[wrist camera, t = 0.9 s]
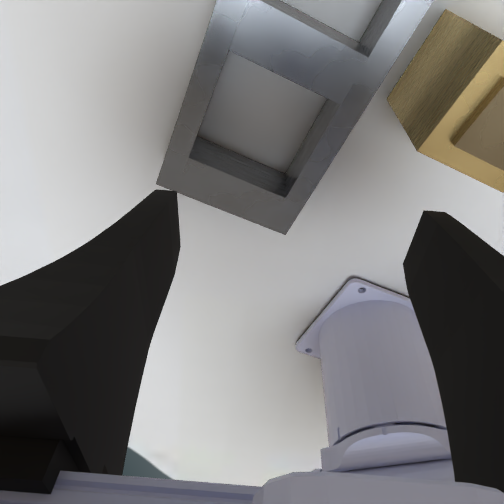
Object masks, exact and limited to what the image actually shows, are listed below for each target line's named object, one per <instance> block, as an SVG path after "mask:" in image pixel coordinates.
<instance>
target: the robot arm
mask: <svg viewBox="0 0 504 504" xmlns="http://www.w3.org/2000/svg"><path fill="white" fill-rule="evenodd" d="M179 251H180V232H179V217H178V203H177V191H168V190H155V191H154V192H152V193H151V194H150V195H149V196H147V197H146V198H145V199H144V200H143V201H141V202H140V203H139V204H138V205H137V206H135V207H134V208H133V209H132V210H131V211H129V212H128V213H127V214H126V215H124V216H123V217H122V218H121V219H119V220H118V221H117V222H116V223H114V224H113V225H111V226H110V227H109V228H107V229H106V230H104V231H103V232H102V233H100V234H99V235H97V236H96V237H95V238H93V239H92V240H90V241H89V242H87V243H86V244H84V245H83V246H81V247H79V248H78V249H76V250H74V251H73V252H71V253H69V254H67V255H66V256H64V257H62V258H60V259H58V260H56V261H55V262H53V263H50V264H48V265H46V266H44V267H42V268H40V269H38V270H36V271H34V272H32V273H30V274H27V275H25V276H23V277H21V278H19V279H16V280H14V281H11V282H9V283H6V284H4V285H1V286H0V504H504V256H503V255H502V254H500V253H499V252H498V251H496V250H495V249H494V248H492V247H491V246H490V245H488V244H487V243H486V242H485V241H483V240H482V239H481V238H479V237H478V236H477V235H476V234H474V233H473V232H472V231H470V230H469V229H468V228H467V227H465V226H464V225H463V224H461V223H460V222H459V221H457V220H456V219H455V218H453V217H452V216H450V215H449V214H447V213H445V212H436V211H423V214H422V216H421V219H420V222H419V224H418V227H417V229H416V232H415V234H414V237H413V239H412V242H411V245H410V247H409V250H408V252H407V255H406V257H405V260H404V262H403V267H404V273H405V279H406V284H407V289H408V294H409V297H410V298H407V297H405V296H402V295H400V294H397V293H394V292H392V291H389V290H386V289H384V288H381V287H379V286H376V285H373V284H371V283H368V282H366V281H363V280H360V279H357V278H354V279H351V280H349V281H348V282H347V283H346V284H345V286H344V287H343V288H342V289H341V290H340V291H339V293H338V294H337V295H336V296H335V297H334V299H333V300H332V301H331V302H330V303H329V305H328V306H327V307H326V308H325V309H324V311H323V312H322V313H321V314H320V315H319V317H318V318H317V319H316V320H315V321H314V322H313V324H312V325H311V326H310V327H309V328H308V330H307V331H306V332H305V333H304V334H303V336H302V337H301V338H300V339H299V340H298V342H297V343H296V350H297V351H299V352H301V353H304V354H307V355H311V356H314V357H317V358H320V359H321V367H322V378H323V389H324V399H325V410H326V421H327V431H328V442H329V447H328V448H322V449H321V461H322V469H314V470H313V471H311V472H292V473H289V474H286V475H283V476H279V477H276V478H273V479H270V480H268V481H267V482H266V483H265V484H264V485H263V486H262V487H257V486H245V485H232V484H220V483H208V482H195V481H183V480H170V479H158V478H145V477H133V476H122V473H123V467H124V462H125V456H126V451H127V446H128V441H129V436H130V431H131V426H132V422H133V417H134V412H135V407H136V402H137V398H138V393H139V389H140V384H141V380H142V375H143V371H144V367H145V363H146V359H147V355H148V350H149V347H150V343H151V340H152V337H153V334H154V331H155V328H156V325H157V322H158V320H159V317H160V314H161V311H162V309H163V306H164V303H165V300H166V297H167V295H168V292H169V289H170V286H171V283H172V281H173V278H174V275H175V270H176V266H177V261H178V256H179ZM362 287H363V289H359V288H362Z"/></svg>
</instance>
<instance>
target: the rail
mask: <svg viewBox="0 0 504 504" xmlns="http://www.w3.org/2000/svg"><path fill="white" fill-rule="evenodd" d="M433 1H434V0H383V1H382V3H381V5H380V6H379V8H378V10H377V12H376V13H375V15H374V17H373V19H372V21H371V22H370V24H369V26H368V28H367V29H366V31H365V33H364V35H363V37H362V38H361V40H360V42H357V41H355V40H353V39H351V38H349V37H347V36H346V35H344V34H342V33H340V32H338V31H336V30H334V29H332V28H331V27H329V26H327V25H325V24H323V23H321V22H319V21H317V20H316V19H314V18H312V17H310V16H308V15H306V14H304V13H302V12H301V11H299V10H297V9H295V8H293V7H291V6H289V5H287V4H286V3H284V2H282V1H280V0H217V2H216V5H215V8H214V11H213V14H212V17H211V20H210V23H209V26H208V29H207V32H206V35H205V38H204V41H203V44H202V47H201V50H200V53H199V56H198V59H197V62H196V65H195V68H194V71H193V74H192V77H191V80H190V83H189V86H188V89H187V92H186V95H185V98H184V101H183V104H182V107H181V110H180V113H179V116H178V119H177V122H176V125H175V128H174V131H173V134H172V137H171V140H170V143H169V146H168V149H167V152H166V155H165V158H164V161H163V164H162V167H161V170H160V173H159V176H158V179H157V182H156V184H157V185H160V186H162V187H165V188H167V189H170V190H172V191H177V193H180V194H183V195H185V196H188V197H190V198H193V199H195V200H198V201H200V202H203V203H205V204H208V205H211V206H213V207H216V208H218V209H221V210H223V211H226V212H228V213H231V214H233V215H236V216H238V217H241V218H244V219H246V220H249V221H251V222H254V223H256V224H259V225H261V226H264V227H266V228H269V229H272V230H274V231H277V232H279V233H282V234H284V235H286V233H287V232H288V230H289V229H290V227H291V226H292V224H293V222H294V221H295V219H296V218H297V216H298V214H299V213H300V211H301V210H302V208H303V207H304V205H305V203H306V202H307V200H308V199H309V197H310V195H311V194H312V192H313V191H314V189H315V188H316V186H317V184H318V183H319V181H320V180H321V178H322V176H323V175H324V173H325V172H326V170H327V169H328V167H329V165H330V164H331V162H332V161H333V159H334V157H335V156H336V154H337V153H338V151H339V150H340V148H341V146H342V145H343V143H344V142H345V140H346V138H347V137H348V135H349V134H350V132H351V131H352V129H353V127H354V126H355V124H356V123H357V121H358V119H359V118H360V116H361V115H362V113H363V112H364V110H365V108H366V107H367V105H368V104H369V102H370V101H371V99H372V97H373V96H374V94H375V93H376V91H377V89H378V88H379V86H380V85H381V83H382V82H383V80H384V78H385V77H386V75H387V74H388V72H389V70H390V69H391V67H392V66H393V64H394V63H395V61H396V59H397V58H398V56H399V55H400V53H401V51H402V50H403V48H404V47H405V45H406V44H407V42H408V40H409V39H410V37H411V36H412V34H413V32H414V31H415V29H416V28H417V26H418V25H419V23H420V21H421V20H422V18H423V17H424V15H425V13H426V12H427V10H428V9H429V7H430V6H431V4H432V2H433ZM228 51H231V52H233V53H235V54H237V55H240V56H242V57H244V58H246V59H248V60H250V61H252V62H254V63H256V64H258V65H260V66H262V67H264V68H266V69H268V70H270V71H272V72H274V73H276V74H278V75H280V76H283V77H285V78H287V79H289V80H291V81H293V82H295V83H297V84H299V85H301V86H303V87H305V88H307V89H309V90H311V91H313V92H315V93H317V94H319V95H321V96H323V97H326V98H328V99H327V101H326V102H325V104H324V106H323V108H322V110H321V111H320V113H319V115H318V117H317V119H316V120H315V122H314V124H313V126H312V127H311V129H310V131H309V133H308V135H307V136H306V138H305V140H304V142H303V143H302V145H301V147H300V149H299V151H298V152H297V154H296V156H295V158H294V159H293V161H292V163H291V165H290V167H289V168H288V170H287V172H286V174H283V173H281V172H279V171H277V170H274V169H272V168H270V167H267V166H265V165H263V164H260V163H258V162H256V161H253V160H251V159H249V158H246V157H244V156H242V155H239V154H237V153H235V152H232V151H230V150H228V149H225V148H223V147H221V146H218V145H216V144H214V143H211V142H209V141H207V140H204V139H202V138H200V137H197V134H198V131H199V128H200V126H201V123H202V120H203V118H204V115H205V112H206V110H207V107H208V104H209V102H210V99H211V96H212V94H213V91H214V88H215V86H216V83H217V80H218V78H219V75H220V72H221V70H222V67H223V64H224V62H225V59H226V56H227V54H228Z"/></svg>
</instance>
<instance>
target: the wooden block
mask: <svg viewBox="0 0 504 504" xmlns="http://www.w3.org/2000/svg"><path fill="white" fill-rule="evenodd" d="M387 100H388V102H389V104H390V106H391V107H392V109H393V111H394V112H395V114H396V116H397V118H398V119H399V121H400V123H401V124H402V126H403V128H404V129H405V131H406V133H407V135H408V136H409V138H410V140H411V141H412V143H413V145H414V146H415V148H416V150H417V151H418V152H420V153H422V154H424V155H426V156H428V157H430V158H432V159H434V160H436V161H439V162H441V163H443V164H445V165H447V166H449V167H451V168H453V169H455V170H457V171H459V172H461V173H463V174H465V175H468V176H470V177H472V178H474V179H476V180H478V181H480V182H482V183H484V184H486V185H488V186H490V187H492V188H494V189H497V190H499V191H501V192H504V41H503V40H501V39H499V38H497V37H495V36H493V35H492V34H490V33H488V32H486V31H484V30H483V29H481V28H479V27H477V26H475V25H474V24H472V23H470V22H468V21H466V20H465V19H463V18H461V17H459V16H457V15H456V14H454V13H452V12H450V11H448V10H447V9H446V10H445V11H444V13H443V14H442V16H441V17H440V19H439V20H438V22H437V23H436V25H435V26H434V28H433V29H432V31H431V32H430V34H429V35H428V37H427V38H426V40H425V42H424V43H423V45H422V46H421V48H420V49H419V51H418V52H417V54H416V55H415V57H414V58H413V60H412V61H411V63H410V64H409V66H408V67H407V69H406V70H405V72H404V74H403V75H402V77H401V78H400V80H399V81H398V83H397V84H396V86H395V87H394V89H393V90H392V92H391V93H390V95H389V96H388V98H387Z"/></svg>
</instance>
